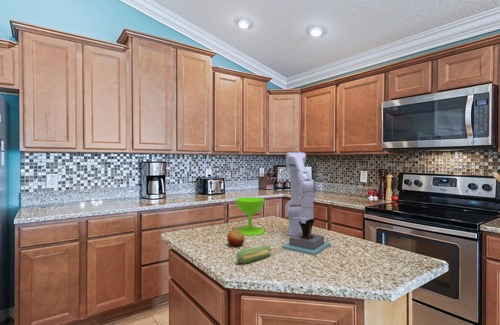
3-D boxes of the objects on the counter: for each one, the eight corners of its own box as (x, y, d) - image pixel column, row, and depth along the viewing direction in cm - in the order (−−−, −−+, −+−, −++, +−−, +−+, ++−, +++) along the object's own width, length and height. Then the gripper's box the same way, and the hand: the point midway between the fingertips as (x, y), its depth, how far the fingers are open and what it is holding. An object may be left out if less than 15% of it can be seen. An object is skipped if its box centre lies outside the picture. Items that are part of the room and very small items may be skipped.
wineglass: (261, 227, 169) (261, 197, 169) (266, 235, 153) (266, 201, 153) (234, 228, 167) (234, 197, 167) (236, 236, 151) (236, 201, 151)
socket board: (299, 239, 145) (299, 230, 145) (330, 244, 136) (330, 235, 136) (282, 248, 131) (282, 238, 131) (315, 255, 121) (315, 244, 121)
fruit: (233, 237, 142) (239, 225, 139) (243, 249, 138) (249, 236, 134) (220, 241, 137) (226, 228, 134) (230, 253, 132) (236, 240, 129)
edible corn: (232, 251, 113) (238, 251, 110) (269, 243, 126) (276, 243, 122) (234, 265, 112) (240, 265, 108) (271, 256, 124) (278, 255, 121)
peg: (303, 239, 136) (303, 222, 136) (311, 240, 134) (311, 223, 134) (301, 241, 132) (301, 224, 132) (310, 242, 131) (310, 225, 131)
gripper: (302, 203, 141) (302, 231, 142) (294, 208, 128) (294, 238, 128) (316, 204, 138) (316, 232, 139) (310, 209, 125) (309, 240, 125)
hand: (306, 235), depth 133 cm, fingers closed on peg, 4 cm apart
